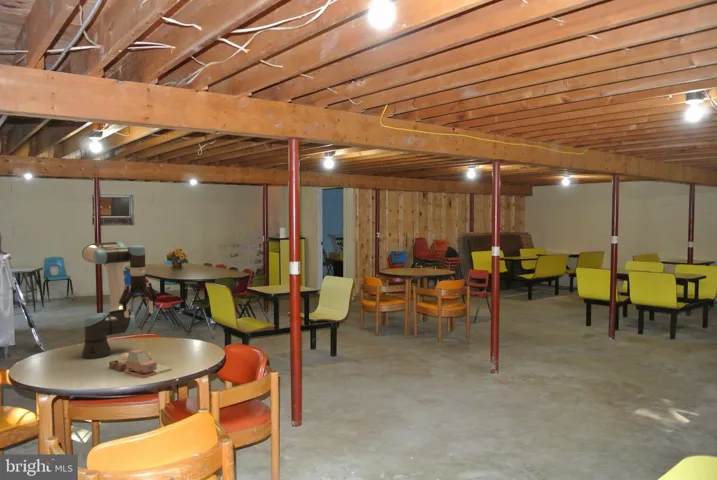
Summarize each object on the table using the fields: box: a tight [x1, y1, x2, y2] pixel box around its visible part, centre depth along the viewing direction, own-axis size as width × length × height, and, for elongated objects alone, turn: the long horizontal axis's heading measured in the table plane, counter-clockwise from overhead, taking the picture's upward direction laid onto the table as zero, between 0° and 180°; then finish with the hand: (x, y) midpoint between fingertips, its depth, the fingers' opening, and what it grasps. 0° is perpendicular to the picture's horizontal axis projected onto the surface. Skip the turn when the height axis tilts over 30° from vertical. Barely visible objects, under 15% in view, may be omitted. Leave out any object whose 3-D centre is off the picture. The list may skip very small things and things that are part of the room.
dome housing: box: [108, 359, 127, 372], centre depth 285 cm, size 12×12×3 cm
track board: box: [124, 363, 173, 378], centre depth 277 cm, size 17×16×1 cm
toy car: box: [126, 348, 158, 374], centre depth 273 cm, size 9×15×10 cm, turn 60°
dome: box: [117, 352, 129, 365], centre depth 284 cm, size 8×8×7 cm
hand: (138, 315), depth 286 cm, fingers open, 13 cm apart
